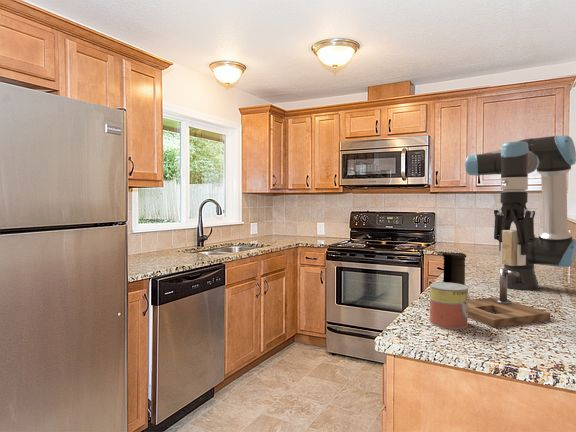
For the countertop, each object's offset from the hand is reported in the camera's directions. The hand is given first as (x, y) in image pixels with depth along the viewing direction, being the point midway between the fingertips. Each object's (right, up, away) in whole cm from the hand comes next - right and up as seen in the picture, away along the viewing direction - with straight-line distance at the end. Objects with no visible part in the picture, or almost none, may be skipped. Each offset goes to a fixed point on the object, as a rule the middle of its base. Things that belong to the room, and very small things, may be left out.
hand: (512, 263), depth 130 cm
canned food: (-21, -19, -1) cm, 28 cm away
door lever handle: (+5, -16, +12) cm, 21 cm away
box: (0, -1, 0) cm, 1 cm away
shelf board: (-1, -18, +8) cm, 20 cm away
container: (-7, -18, +28) cm, 34 cm away
